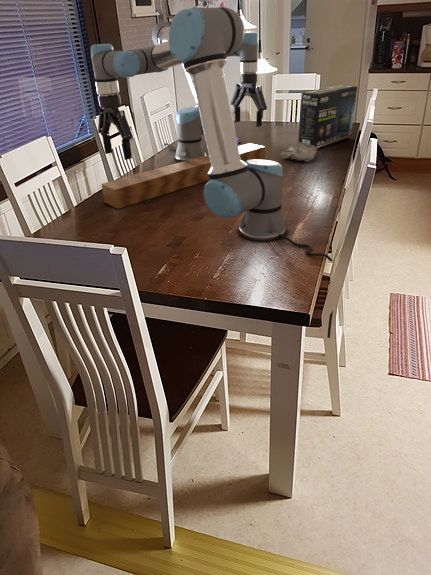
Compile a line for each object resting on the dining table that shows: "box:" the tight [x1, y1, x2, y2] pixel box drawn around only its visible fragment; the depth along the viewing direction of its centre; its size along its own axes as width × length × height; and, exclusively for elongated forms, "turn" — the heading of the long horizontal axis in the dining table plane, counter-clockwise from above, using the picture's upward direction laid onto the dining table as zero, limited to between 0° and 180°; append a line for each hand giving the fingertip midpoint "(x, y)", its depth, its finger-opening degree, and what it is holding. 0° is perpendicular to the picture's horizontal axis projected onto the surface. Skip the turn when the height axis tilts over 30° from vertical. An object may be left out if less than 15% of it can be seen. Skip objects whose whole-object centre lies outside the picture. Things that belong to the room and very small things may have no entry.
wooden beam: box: [101, 142, 266, 210], centre depth 196 cm, size 81×10×8 cm, turn 132°
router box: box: [297, 84, 358, 147], centre depth 238 cm, size 36×11×27 cm, turn 134°
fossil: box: [280, 141, 318, 163], centre depth 221 cm, size 18×11×15 cm
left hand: (248, 124), depth 208 cm, fingers open, 13 cm apart
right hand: (118, 156), depth 170 cm, fingers open, 13 cm apart
